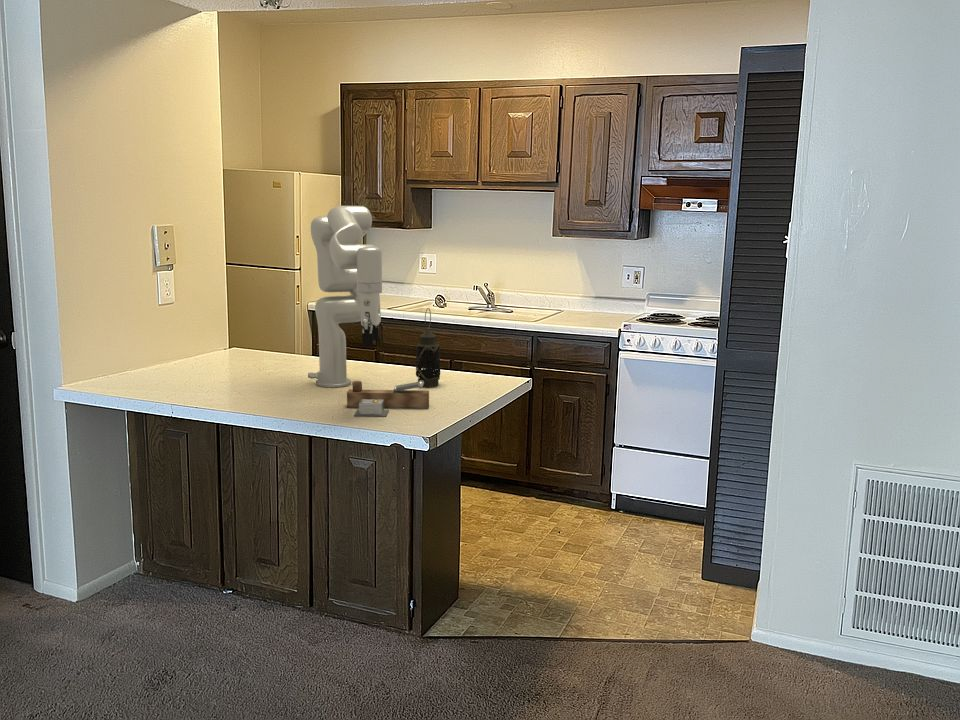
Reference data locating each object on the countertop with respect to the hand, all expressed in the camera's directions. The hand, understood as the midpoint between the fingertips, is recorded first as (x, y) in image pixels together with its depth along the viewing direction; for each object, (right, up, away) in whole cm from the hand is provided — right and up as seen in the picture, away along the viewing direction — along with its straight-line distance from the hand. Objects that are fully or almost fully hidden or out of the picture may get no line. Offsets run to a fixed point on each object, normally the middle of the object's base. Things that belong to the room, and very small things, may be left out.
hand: (370, 343), depth 262 cm
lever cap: (0, -22, +4) cm, 22 cm away
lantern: (+15, -14, +44) cm, 49 cm away
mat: (0, -22, +4) cm, 22 cm away
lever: (+7, -14, +12) cm, 20 cm away
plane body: (+4, -20, +13) cm, 25 cm away
